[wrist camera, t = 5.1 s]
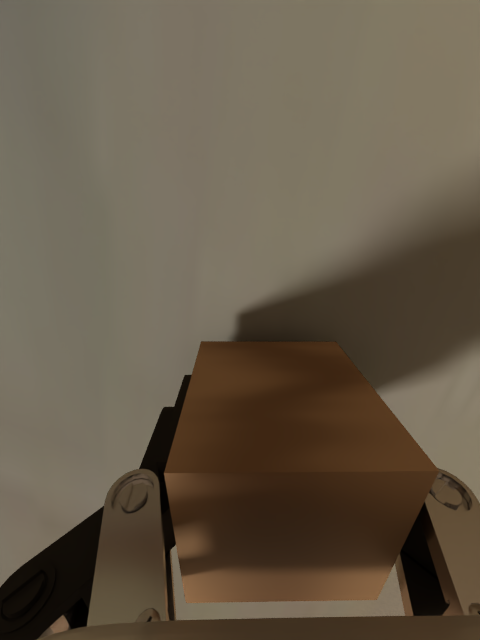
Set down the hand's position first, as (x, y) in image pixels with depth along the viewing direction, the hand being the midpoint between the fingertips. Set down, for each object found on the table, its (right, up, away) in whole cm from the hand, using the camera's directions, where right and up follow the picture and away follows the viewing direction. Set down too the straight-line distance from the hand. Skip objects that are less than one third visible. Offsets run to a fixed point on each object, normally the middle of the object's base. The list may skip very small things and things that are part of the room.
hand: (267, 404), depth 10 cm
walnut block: (0, 0, +1) cm, 1 cm away
